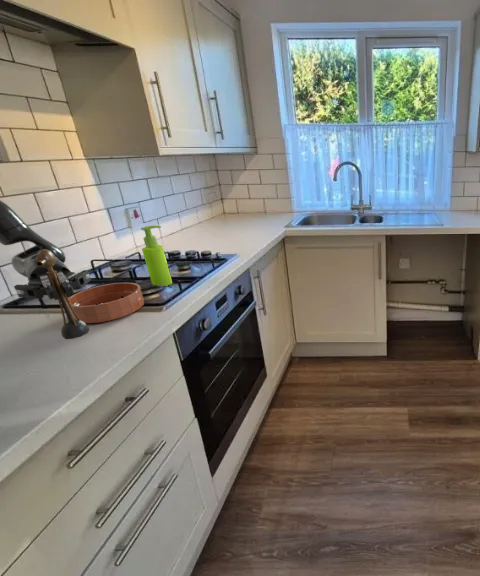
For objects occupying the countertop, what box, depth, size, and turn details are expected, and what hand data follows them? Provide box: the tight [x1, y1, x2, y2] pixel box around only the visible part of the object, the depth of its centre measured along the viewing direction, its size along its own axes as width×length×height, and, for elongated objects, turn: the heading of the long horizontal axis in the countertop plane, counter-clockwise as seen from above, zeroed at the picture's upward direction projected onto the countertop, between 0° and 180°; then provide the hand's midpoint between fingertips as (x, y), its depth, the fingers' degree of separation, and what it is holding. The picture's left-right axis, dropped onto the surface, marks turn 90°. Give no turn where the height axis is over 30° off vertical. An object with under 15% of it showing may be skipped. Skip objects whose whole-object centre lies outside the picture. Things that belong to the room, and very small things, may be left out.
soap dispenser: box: [140, 224, 173, 287], centre depth 120 cm, size 6×7×20 cm
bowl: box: [66, 282, 145, 324], centre depth 104 cm, size 17×17×6 cm
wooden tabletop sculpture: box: [36, 249, 91, 340], centre depth 78 cm, size 6×5×20 cm
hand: (61, 293), depth 76 cm, fingers closed on wooden tabletop sculpture, 1 cm apart
